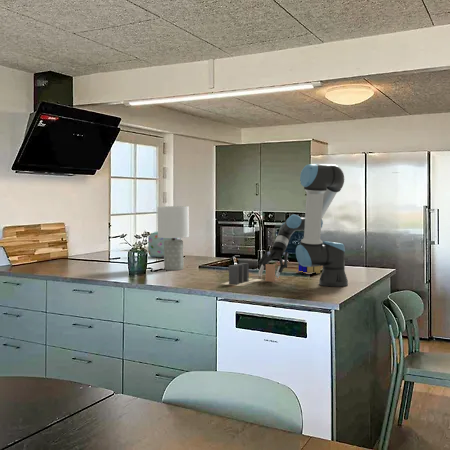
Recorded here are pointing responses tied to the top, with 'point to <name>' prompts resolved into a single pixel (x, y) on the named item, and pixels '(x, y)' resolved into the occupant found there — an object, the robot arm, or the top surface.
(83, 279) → the top surface
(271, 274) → the salmon orange block
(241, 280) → the grey rectangular slab
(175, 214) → the lamp
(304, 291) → the top surface
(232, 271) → the dark grey block
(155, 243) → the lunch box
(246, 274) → the dark grey block
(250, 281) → the birch board
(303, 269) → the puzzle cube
